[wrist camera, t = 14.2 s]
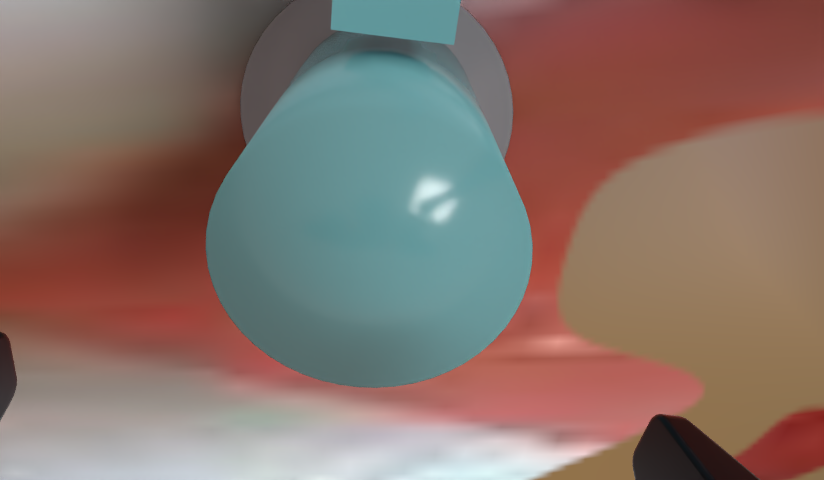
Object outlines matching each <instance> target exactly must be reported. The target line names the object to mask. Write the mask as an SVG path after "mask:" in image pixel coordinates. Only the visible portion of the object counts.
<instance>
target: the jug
mask: <svg viewBox="0 0 824 480" xmlns="http://www.w3.org/2000/svg"><path fill="white" fill-rule="evenodd" d="M460 3H461V0H332V15H331V30H338V31H337V32H335V33H333V34H332V35H330V36H329V37H328V38H326V39H325V40H324V41H322V42H321V43H320V44H319V45H318V46H317V47H316V48H315V49H314V50H313V51H312V53H311V54H310V55H309V57H308V58H307V59H306V61H305V62H304V64H303V65H302V67H301V68H300V69H299V71H298V72H297V74H296V75H295V77H294V78H293V80H292V81H291V82H290V84H289V85H288V87H287V88H286V90H285V91H284V93H283V94H282V95H281V97H280V98H279V100H278V101H277V103H276V104H275V106H274V107H273V109H272V110H271V111H270V113H269V114H268V116H267V117H266V119H265V120H264V122H263V123H262V124H261V126H260V127H259V129H258V130H257V132H256V133H255V135H254V136H253V137H252V139H251V140H250V142H249V143H248V145H247V146H246V148H245V149H244V150H243V152H242V153H241V155H240V156H239V158H238V159H237V161H236V162H235V164H234V165H233V166H232V168H231V169H230V171H229V172H228V174H227V175H226V177H225V179H224V180H223V182H222V184H221V186H220V188H219V190H218V191H217V193H216V196H215V199H214V202H213V204H212V207H211V210H210V213H209V219H208V224H207V230H206V255H207V263H208V269H209V273H210V276H211V280H212V283H213V287H214V289H215V291H216V293H217V296H218V298H219V300H220V302H221V304H222V306H223V307H224V309H225V311H226V312H227V314H228V315H229V317H230V319H231V320H232V321H233V322H234V324H235V325H236V326H237V327H238V328H239V330H240V331H241V332H242V333H243V334H244V335H245V336H246V337H247V338H248V339H249V340H250V341H251V342H252V343H253V344H254V345H255V346H257V347H258V348H259V349H260V350H262V351H263V352H264V353H266V354H267V355H268V356H270V357H271V358H273V359H275V360H276V361H278V362H280V363H281V364H283V365H285V366H286V367H288V368H291V369H293V370H295V371H297V372H299V373H301V374H304V375H307V376H310V377H313V378H315V379H318V380H321V381H326V382H330V383H334V384H339V385H346V386H353V387H371V388H379V387H394V386H401V385H406V384H412V383H416V382H420V381H424V380H427V379H431V378H434V377H436V376H439V375H441V374H444V373H446V372H449V371H451V370H453V369H454V368H456V367H458V366H460V365H462V364H464V363H466V362H467V361H469V360H470V359H471V358H473V357H474V356H476V355H477V354H479V353H480V352H481V351H482V350H484V349H485V348H486V347H487V346H488V345H489V344H491V343H492V342H493V341H494V340H495V339H496V337H497V336H498V335H499V334H500V333H501V332H502V331H503V330H504V329H505V327H506V326H507V324H508V323H509V322H510V320H511V319H512V317H513V316H514V314H515V313H516V311H517V309H518V307H519V305H520V303H521V301H522V299H523V296H524V293H525V290H526V287H527V285H528V282H529V277H530V271H531V266H532V246H533V245H532V237H531V228H530V224H529V220H528V216H527V213H526V209H525V207H524V204H523V202H522V200H521V197H520V195H519V193H518V191H517V188H516V186H515V184H514V182H513V179H512V177H511V175H510V172H509V170H508V168H507V166H506V163H505V161H504V159H503V157H502V154H501V152H500V150H499V148H498V145H497V143H496V141H495V138H494V136H493V134H492V132H491V129H490V127H489V125H488V123H487V120H486V118H485V116H484V114H483V111H482V109H481V107H480V104H479V102H478V100H477V98H476V95H475V93H474V91H473V89H472V86H471V84H470V82H469V79H468V77H467V75H466V73H465V71H464V69H463V67H462V65H461V64H460V62H459V61H458V59H457V58H456V56H455V55H454V54H453V53H452V52H451V50H450V49H449V48H448V47H447V46H446V45H445V44H449V45H454V42H455V35H456V29H457V22H458V16H459V9H460Z"/></svg>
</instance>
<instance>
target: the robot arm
mask: <svg viewBox="0 0 824 480" xmlns="http://www.w3.org/2000/svg"><path fill="white" fill-rule="evenodd" d="M16 386H17V377H16V371H15V366H14V361H13V356H12V351H11V345H10V341H9V338H8V337H7V336H6V334H4V333H2V332H0V420H1V419H2V417H3V415H4V413H5V411H6V409H7V408H8V406H9V404H10V402H11V400H12V398H13V396H14V393H15V390H16ZM633 471H634V476H635V480H760V479H759V478H757V477H756V476H755V475H754V474H753V473H751V472H750V471H749V470H748V469H746V468H745V467H744V466H743V465H742V464H740V463H739V462H738V461H737V460H736V459H734V458H733V457H732V456H731V455H730V454H728V453H727V452H726V451H725V450H724V449H722V448H721V447H720V446H719V445H718V444H716V443H715V442H714V441H713V440H712V439H710V438H709V437H708V436H707V435H705V434H704V433H703V432H702V431H701V430H699V429H698V428H697V427H696V426H695V425H693V424H692V423H691V422H690V421H688V420H687V419H686V418H683V417H680V416H673V415H665V414H658V415H655V416H654V417H653V418H652V419H651V420H650V422H649V424H648V426H647V428H646V430H645V432H644V434H643V436H642V437H641V439H640V441H639V443H638V445H637V447H636V449H635V451H634V455H633Z"/></svg>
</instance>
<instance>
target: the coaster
mask: <svg viewBox="0 0 824 480" xmlns="http://www.w3.org/2000/svg"><path fill="white" fill-rule="evenodd" d="M331 15H332V0H295V1H293V2H292V3H291V4H289V5H288V6H287V7H286V8H285V9H284V10H283V11H282V12H281V13H279V14H278V15H277V16H276V17H275V18H274V19H273V21H272V22H271V23H270V24H269V26H268V27H267V28H266V29H265V31H264V32H263V33H262V35H261V37H260V38H259V40H258V42H257V44H256V45H255V47H254V49H253V51H252V54H251V56H250V59H249V61H248V63H247V66H246V70H245V74H244V78H243V82H242V90H241V99H240V106H241V122H242V128H243V135H244V138H245V142H246V145H248V143H249V142H250V140H251V139H252V137H253V136H254V135H255V133H256V132H257V130H258V129H259V127H260V126H261V124H262V123H263V122H264V120H265V119H266V117H267V116H268V114H269V113H270V111H271V110H272V109H273V107H274V106H275V104H276V103H277V101H278V100H279V98H280V97H281V95H282V94H283V93H284V91H285V90H286V88H287V87H288V85H289V84H290V82H291V81H292V80H293V78H294V77H295V75H296V74H297V72H298V71H299V69H300V68H301V67H302V65H303V64H304V62H305V61H306V59H307V58H308V57H309V55H310V54H311V53H312V51H313V50H314V49H315V48H316V47H317V46H318V45H319V44H320V43H321V42H322V41H324V40H325V39H326V38H328V37H329V36H330V35H332V34H333V33H335V32H337V31H338V30H331ZM445 45H446V46H447V47H448V48H449V49H450V50H451V52H452V53H453V54H454V55H455V56H456V58H457V59H458V61H459V62H460V64H461V65H462V67H463V69H464V71H465V73H466V75H467V77H468V79H469V82H470V84H471V86H472V89H473V91H474V93H475V95H476V98H477V100H478V102H479V104H480V107H481V109H482V111H483V114H484V116H485V118H486V120H487V123H488V125H489V127H490V129H491V132H492V134H493V136H494V138H495V141H496V143H497V145H498V148H499V150H500V152H501V154H502V157H503V159H504V158H505V155H506V152H507V149H508V146H509V141H510V137H511V132H512V121H513V103H512V93H511V88H510V83H509V78H508V75H507V72H506V69H505V66H504V63H503V60H502V58H501V56H500V54H499V52H498V50H497V48H496V46H495V45H494V43H493V41H492V40H491V39H490V37H489V36H488V34H487V33H486V31H485V30H484V28H483V27H482V26H481V25H480V24H479V23H478V22H477V21H476V19H475V18H474V17H473V16H472V15H471V14H470V13H469V12H468V11H467V10H466V9H464V8H463V7H462V6H461V5H460V9H459V16H458V22H457V29H456V35H455V42H454V45H449V44H445Z"/></svg>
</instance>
